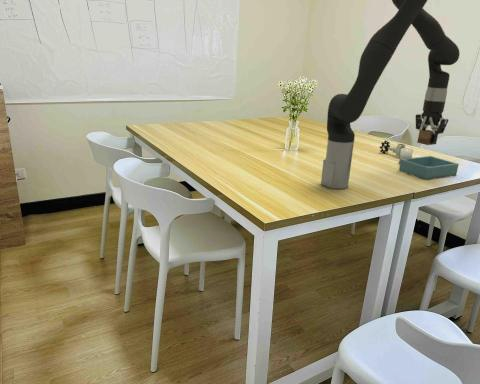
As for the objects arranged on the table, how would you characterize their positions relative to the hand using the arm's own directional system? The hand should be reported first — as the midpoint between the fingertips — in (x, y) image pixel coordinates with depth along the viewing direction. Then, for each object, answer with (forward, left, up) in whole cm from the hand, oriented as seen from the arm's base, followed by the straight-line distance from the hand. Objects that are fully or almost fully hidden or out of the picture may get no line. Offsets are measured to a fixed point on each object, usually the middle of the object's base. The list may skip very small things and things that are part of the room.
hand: (426, 141), depth 158 cm
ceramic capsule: (+6, +14, -14) cm, 21 cm away
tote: (+4, 0, -14) cm, 14 cm away
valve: (+13, +28, -14) cm, 34 cm away
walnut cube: (0, 0, -1) cm, 1 cm away
